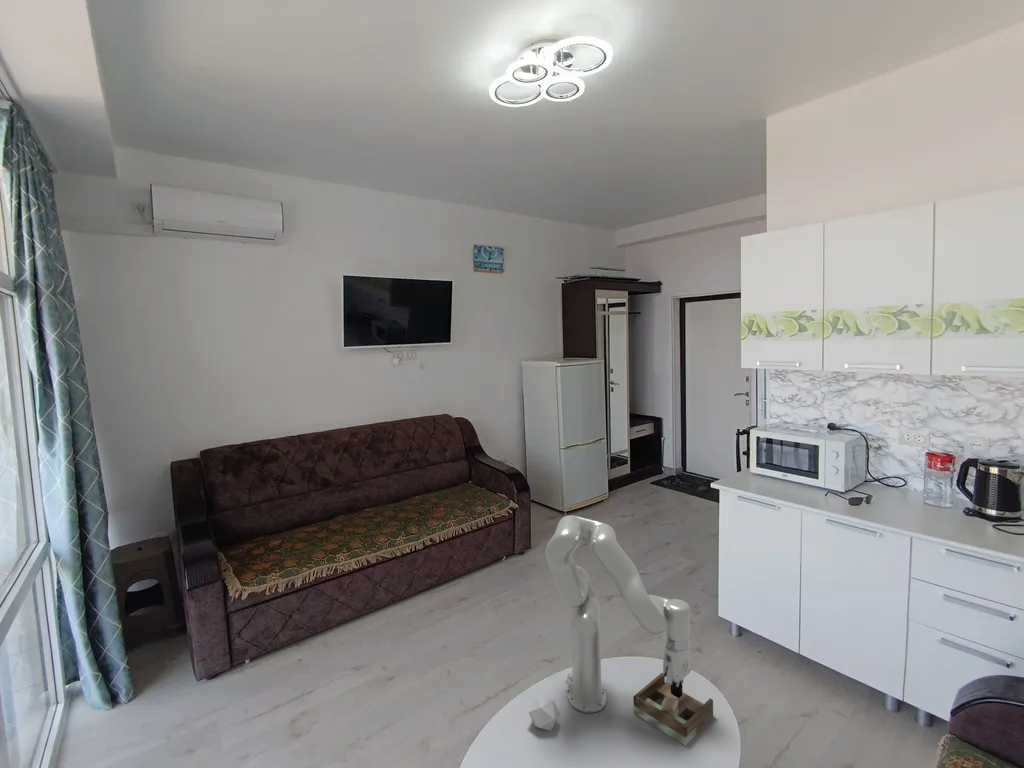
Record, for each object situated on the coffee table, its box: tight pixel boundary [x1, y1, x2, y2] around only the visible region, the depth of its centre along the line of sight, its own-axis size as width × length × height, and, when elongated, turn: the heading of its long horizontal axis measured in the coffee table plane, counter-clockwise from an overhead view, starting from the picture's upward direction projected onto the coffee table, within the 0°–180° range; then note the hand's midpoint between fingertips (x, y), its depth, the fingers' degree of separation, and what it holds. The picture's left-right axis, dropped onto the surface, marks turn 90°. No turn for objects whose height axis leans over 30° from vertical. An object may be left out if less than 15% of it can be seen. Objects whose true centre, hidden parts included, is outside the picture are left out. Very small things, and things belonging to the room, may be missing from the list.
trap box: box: [632, 672, 714, 747], centre depth 155 cm, size 18×16×6 cm
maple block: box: [662, 696, 678, 719], centre depth 152 cm, size 4×4×4 cm
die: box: [528, 695, 561, 732], centre depth 153 cm, size 8×9×10 cm
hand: (676, 694), depth 157 cm, fingers closed
